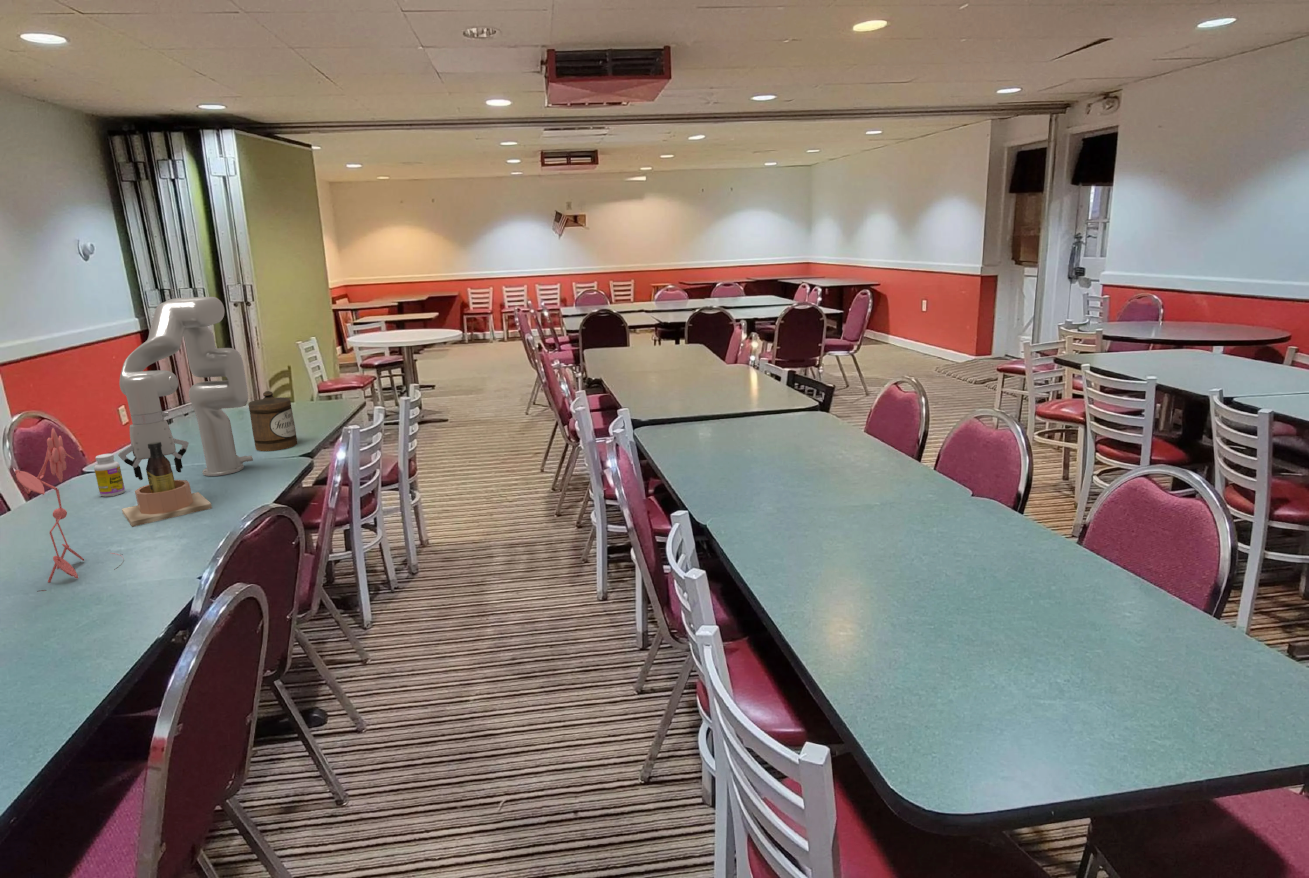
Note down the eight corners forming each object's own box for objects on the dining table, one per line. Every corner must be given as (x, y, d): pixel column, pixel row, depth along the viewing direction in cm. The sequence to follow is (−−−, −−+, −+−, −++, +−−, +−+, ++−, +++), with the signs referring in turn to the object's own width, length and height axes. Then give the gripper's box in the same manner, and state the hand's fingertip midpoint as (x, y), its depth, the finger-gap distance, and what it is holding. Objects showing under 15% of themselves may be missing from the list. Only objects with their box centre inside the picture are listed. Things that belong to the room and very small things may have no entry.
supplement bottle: (112, 497, 236) (103, 458, 233) (95, 497, 238) (85, 458, 234) (130, 490, 243) (122, 452, 239) (113, 490, 244) (104, 452, 241)
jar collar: (186, 495, 230) (183, 477, 229) (197, 505, 221) (193, 486, 219) (136, 506, 222) (131, 487, 220) (144, 517, 212) (139, 497, 211)
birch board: (199, 496, 234) (198, 492, 233) (212, 508, 222) (211, 503, 222) (122, 513, 221) (121, 508, 220) (132, 526, 209) (130, 521, 209)
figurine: (34, 597, 167) (-2, 445, 158) (60, 557, 189) (29, 422, 181) (117, 582, 174) (86, 436, 165) (133, 546, 196) (106, 415, 187)
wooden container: (286, 450, 285) (276, 394, 279) (248, 452, 285) (237, 395, 280) (304, 440, 299) (295, 386, 294) (268, 442, 299) (258, 388, 294)
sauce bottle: (157, 503, 223) (143, 439, 217) (181, 500, 225) (168, 437, 220) (151, 510, 217) (137, 445, 212) (176, 508, 219) (163, 443, 214)
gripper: (179, 411, 223) (190, 466, 227) (109, 422, 211) (122, 479, 216) (184, 414, 217) (196, 471, 222) (113, 426, 206) (127, 485, 210)
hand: (160, 475), depth 219 cm, fingers open, 9 cm apart
